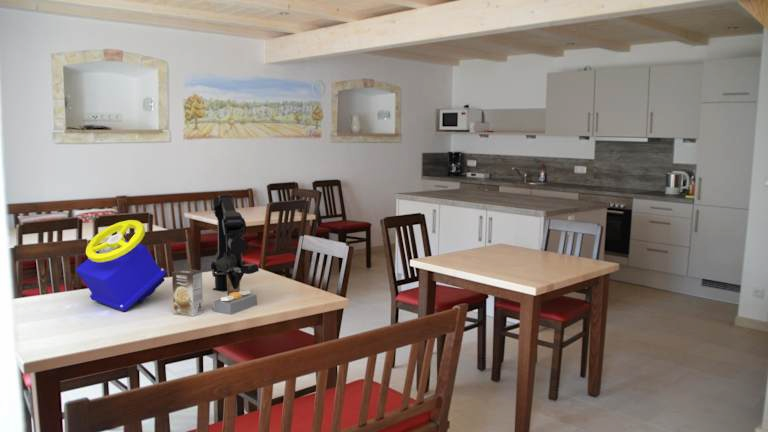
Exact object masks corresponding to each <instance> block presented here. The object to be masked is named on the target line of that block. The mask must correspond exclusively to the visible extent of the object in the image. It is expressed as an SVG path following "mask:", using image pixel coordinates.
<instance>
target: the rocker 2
mask: <svg viewBox="0 0 768 432" xmlns="http://www.w3.org/2000/svg"><path fill="white" fill-rule="evenodd" d="M237 293H240V294H242V295H246V294H251V291H250V289H247V290H246V289H245V290H240V291H239V292H237Z"/></svg>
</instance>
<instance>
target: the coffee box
mask: <svg viewBox="0 0 768 432" xmlns="http://www.w3.org/2000/svg"><path fill="white" fill-rule="evenodd" d="M171 278H172V280H171V281H172V301H173V302H172V305H173V306H172V307H173V308H172V309H173V315H178V316H187V317H193V318H194V317H196V316H198V315H201V314H202V313H204V307H203V306H204V305H203V303H204V301H203V299H204V298H203V270H201V269H200V270H198V269H190V268H180V269H177V270H174V271H172V272H171Z"/></svg>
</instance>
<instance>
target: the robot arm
mask: <svg viewBox="0 0 768 432" xmlns="http://www.w3.org/2000/svg"><path fill="white" fill-rule="evenodd" d="M211 210H212V211H213V214H214V215H215V217H216V219H217V252H216V254H215V255H214V259H213V261H212V262H211V264H210V266H211V267H210V269H211V274H212V277H214V287H213V288H212V290H213V291H219V292H226V291H227V275H228V277H229V279H230V281H231V284H232V286H233V289H237V288H238V285H239V283H240V282H241V280H242V278H243V276H244V275H245V274H246V275H251V274H255V273H257V272H259V265H258V264H256V263H252V262H251V263H246V264H245V260H243V254H245V251H246V249H247V242H246V240H245V239H244V238H243V235H246V234H247V231H248V230H247V229H248V228H247V223H246V220H245V218H244V217H243V216H242V214H241V213H240V212H239V211H236V208H235V198H234V197H233V195H232V194H220V195H218V196H217V197H215V198H213V199H212V201H211ZM240 284H241V283H240Z"/></svg>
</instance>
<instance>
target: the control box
mask: <svg viewBox="0 0 768 432" xmlns="http://www.w3.org/2000/svg"><path fill="white" fill-rule="evenodd" d="M129 229H134V230H136V231H135V233H134V234H133V236H132V237H131V238H130V239H129V240H128V239H125V237H124V235H125V234H126V232H127V231H128V230H129ZM112 234H114V235H112ZM110 235H111V236H110ZM145 235H146V229H145V226H144V225H143V223H142V222H140V220H135V219H128V220H124V221H119V222H116V223H114V224H112V225H109V226H108V227H106V228H104V229H102V230H101V231H100V232H98V233H97V234H95V236H93V238H92V239H91V240H90V241H89V243H88V244H87V245H86V247H85V255H86V256H87V258H88V259H86V260H85V261H84V262H82V263H81V264H80V265H79V266H78V267H76V269H75V271H76V273H77V274H78V276H79V277H80V278H81V280H82V282H83V283H84V284H85V286H86V287H87V289H88V290H89V291H90V293H89V298H90V299H91V300H92V301H93V302H97V303H100V304H103V305H104V306H107V307H110V308H112V309H115V310H118V311H120V312H123V313H126V312H127V311H128V310H130V308H131V307H132V306H134V305H135V304H136V303H137V302H139V303H142V302H143V301H144V300H145V299H146V298H147V297H149V296H152V295H153V294H154V293H155V292H156V290H157V288H158V287H160V285H161V284H163V283H164V282H165V277H166V276H167V275H168V272H167V271H166V269H164V268H163V267H162V268H161V267H159V265H158V264H157V262H156V260H155V259H154V257H153V256H152V254H151V252H150V251H149V249H148V247H147V246H146V244H141V242H142V240H143V239H144V237H145ZM107 237H109V238H108V239H107V240H106V241H105V242H102V241H104V240H105V239H106V238H107ZM101 242H102V243H101ZM100 243H101V244H100Z"/></svg>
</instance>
